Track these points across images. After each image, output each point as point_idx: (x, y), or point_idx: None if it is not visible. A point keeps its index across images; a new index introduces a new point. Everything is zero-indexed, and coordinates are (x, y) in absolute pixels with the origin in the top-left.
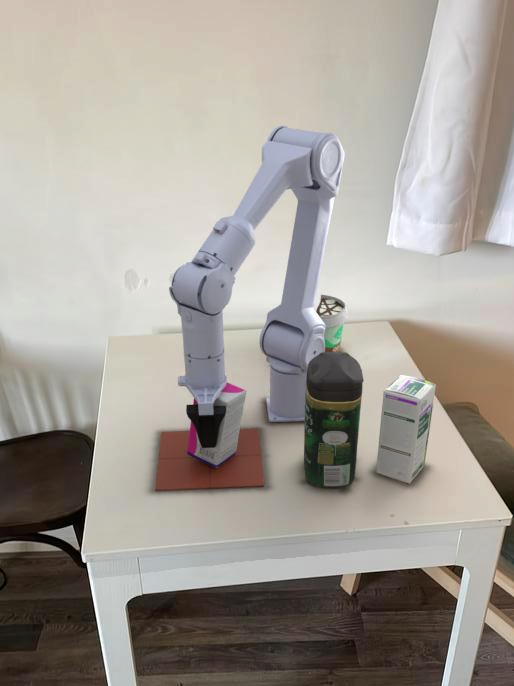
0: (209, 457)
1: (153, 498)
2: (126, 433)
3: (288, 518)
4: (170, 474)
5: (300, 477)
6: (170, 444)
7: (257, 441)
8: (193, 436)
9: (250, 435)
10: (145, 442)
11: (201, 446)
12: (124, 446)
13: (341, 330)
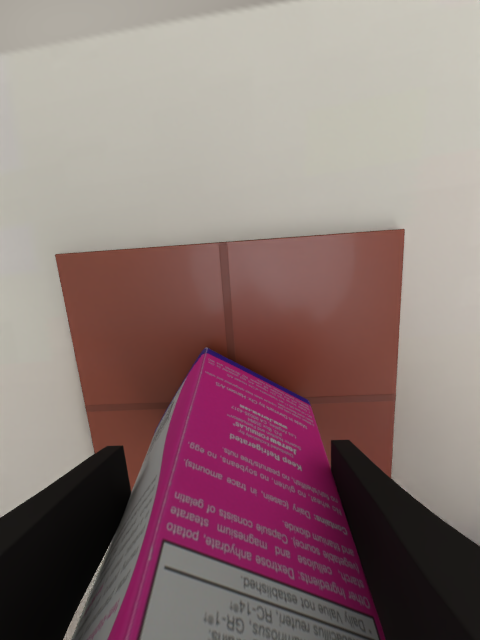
0: (158, 429)
1: (24, 253)
2: (418, 80)
3: None
4: (136, 293)
5: None
6: (312, 274)
7: None
8: (177, 415)
9: None
10: (342, 176)
11: (102, 449)
12: (319, 92)
13: None
